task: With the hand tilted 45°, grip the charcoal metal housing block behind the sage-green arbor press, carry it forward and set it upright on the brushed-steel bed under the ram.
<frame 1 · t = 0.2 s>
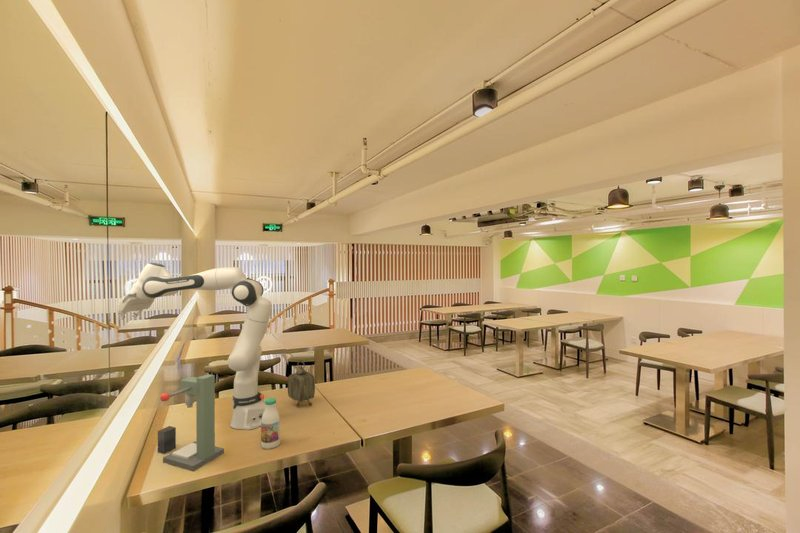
hand: (127, 317, 170), 54 cm above the table, tool tilted 30°, fingers open, 8 cm apart
housing: (166, 450, 148), on the table
milk bottle: (270, 445, 152), on the table
press: (189, 456, 143), on the table
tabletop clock: (300, 405, 197), on the table
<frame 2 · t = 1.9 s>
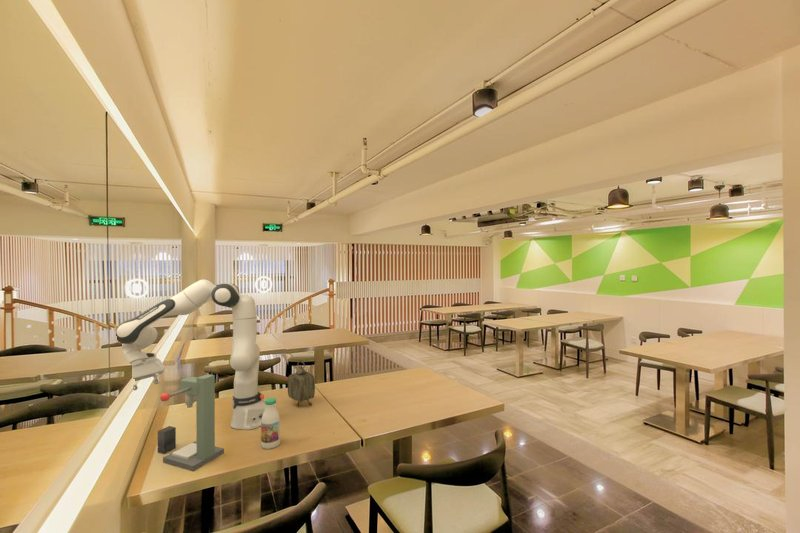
hand: (146, 386, 153), 26 cm above the table, tool tilted 45°, fingers open, 8 cm apart
nothing on the table moved.
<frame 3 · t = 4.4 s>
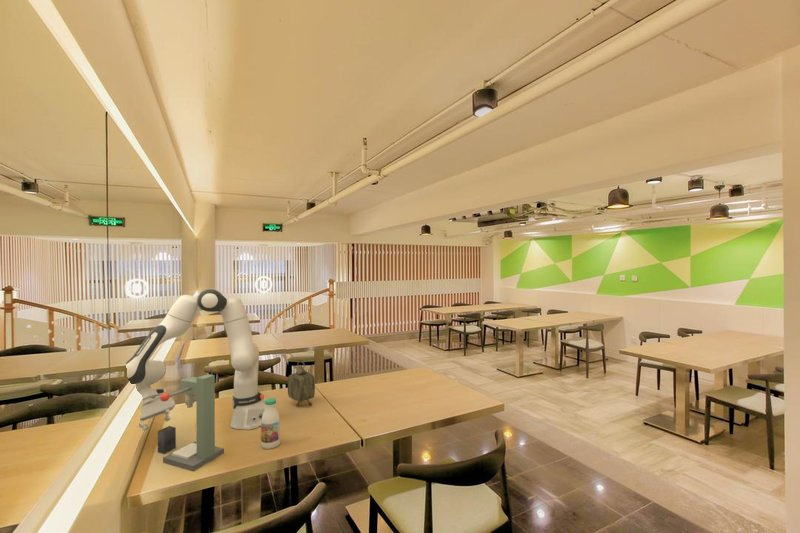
hand: (157, 424, 150), 10 cm above the table, tool tilted 45°, fingers open, 8 cm apart
nothing on the table moved.
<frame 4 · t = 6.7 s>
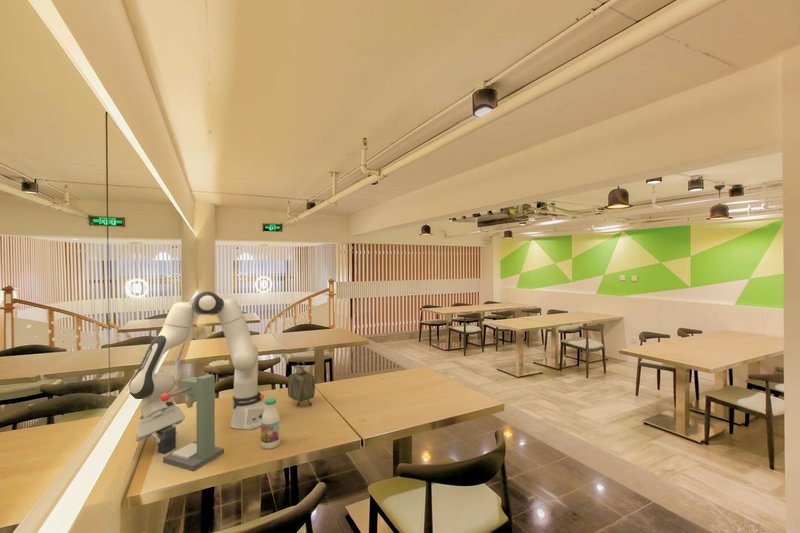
hand: (167, 438, 148), 5 cm above the table, tool tilted 45°, fingers closed on housing, 5 cm apart
housing: (166, 450, 148), on the table, touching gripper
everything else where it was.
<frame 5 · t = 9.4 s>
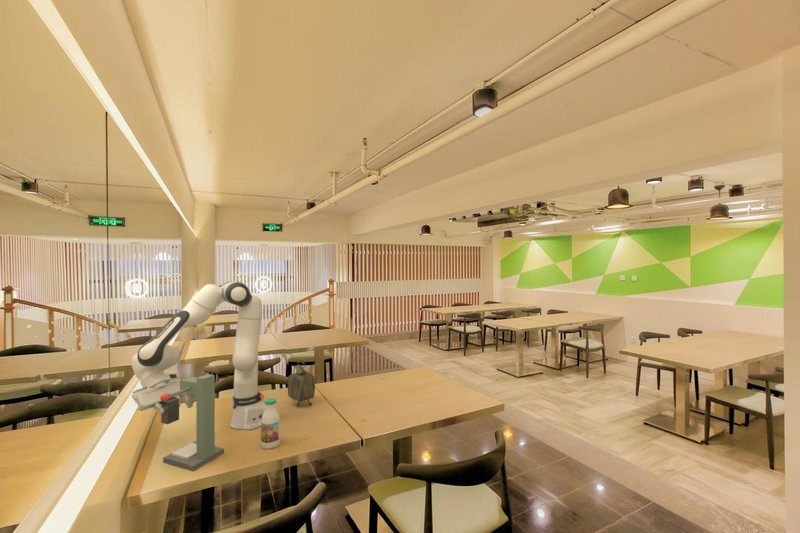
hand: (171, 409, 147), 18 cm above the table, tool tilted 45°, fingers closed on housing, 5 cm apart
housing: (170, 421, 148), point 13 cm above the table, touching gripper
everything else where it was.
when the fingers open (9 cm above the table, at t = 12.3 s): housing drops 2 cm, resting on press.
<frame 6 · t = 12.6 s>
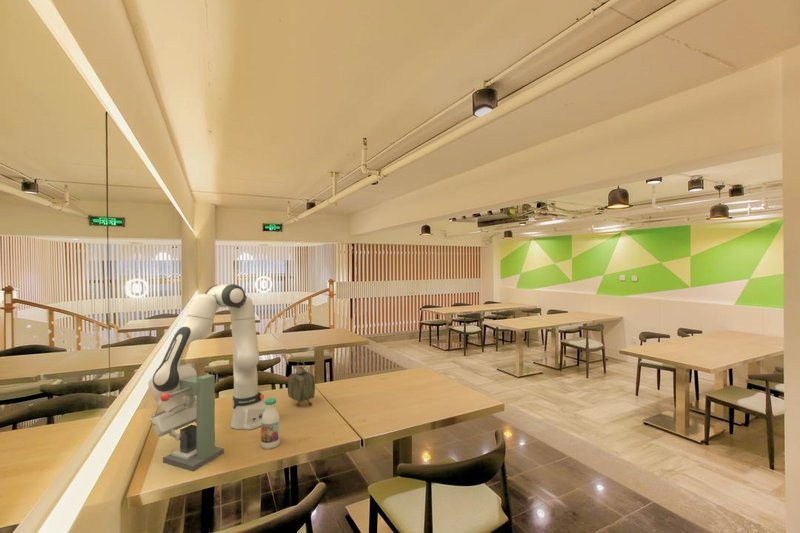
hand: (190, 434, 143), 9 cm above the table, tool tilted 45°, fingers open, 8 cm apart
housing: (189, 449, 143), point 3 cm above the table, touching press
everything else where it was.
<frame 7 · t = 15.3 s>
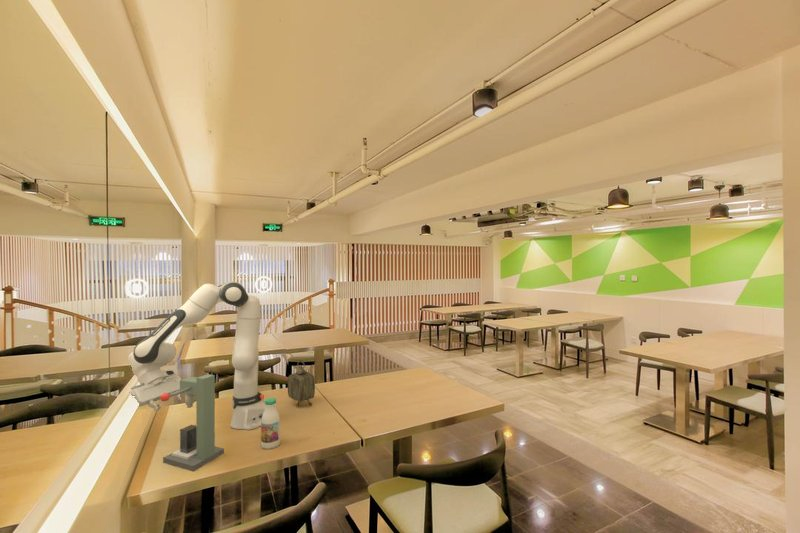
hand: (169, 405, 150), 18 cm above the table, tool tilted 45°, fingers open, 8 cm apart
nothing on the table moved.
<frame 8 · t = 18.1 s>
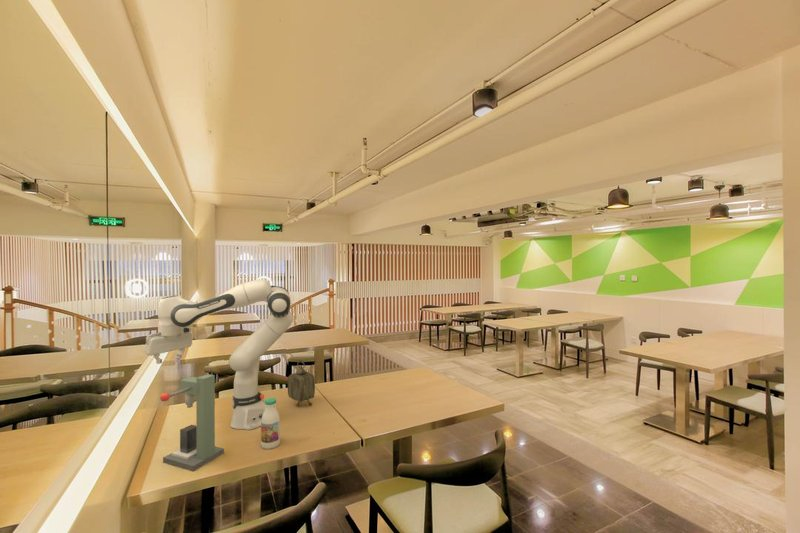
hand: (169, 360, 160), 35 cm above the table, tool pointing down, fingers open, 8 cm apart
nothing on the table moved.
at the end: housing 0.3 cm off-centre on the press, point 2.8 cm above the press's base; housing tilted 0°; the gripper is holding nothing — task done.
